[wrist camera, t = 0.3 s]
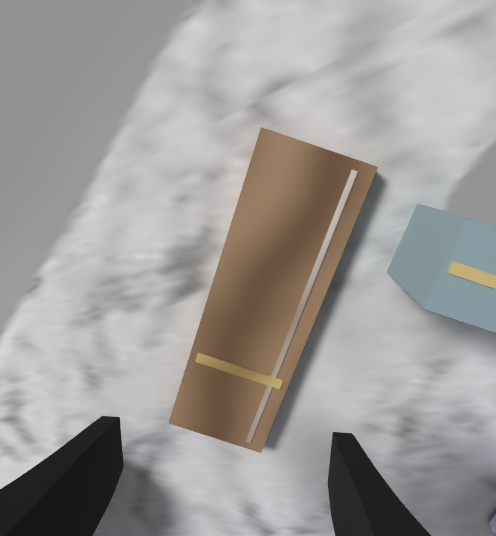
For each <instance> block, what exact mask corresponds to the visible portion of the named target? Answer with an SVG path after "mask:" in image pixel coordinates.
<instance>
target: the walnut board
mask: <svg viewBox="0 0 496 536" xmlns="http://www.w3.org/2000/svg"><path fill="white" fill-rule="evenodd" d="M377 168H378V167H376V166H373V165H371V164H368V163H365V162H362V161H359V160H356V159H353V158H350V157H347V156H344V155H341V154H338V153H335V152H332V151H329V150H326V149H323V148H321V147H318V146H315V145H312V144H309V143H306V142H303V141H300V140H297V139H294V138H291V137H288V136H285V135H282V134H279V133H276V132H273V131H271V130H268V129H265V128H262V127H261V130H260V133H259V136H258V139H257V143H256V146H255V149H254V152H253V155H252V159H251V162H250V165H249V168H248V171H247V174H246V178H245V181H244V184H243V187H242V190H241V194H240V197H239V200H238V203H237V206H236V210H235V213H234V216H233V219H232V222H231V226H230V229H229V232H228V235H227V238H226V242H225V245H224V248H223V251H222V254H221V257H220V261H219V264H218V267H217V270H216V273H215V277H214V280H213V283H212V286H211V289H210V293H209V296H208V299H207V302H206V305H205V309H204V312H203V315H202V318H201V321H200V325H199V328H198V331H197V334H196V337H195V341H194V344H193V347H192V350H191V353H190V356H189V360H188V363H187V366H186V369H185V372H184V376H183V379H182V382H181V385H180V388H179V392H178V395H177V398H176V401H175V404H174V408H173V411H172V414H171V417H170V420H169V423H170V424H173V425H176V426H179V427H182V428H185V429H189V430H192V431H195V432H198V433H201V434H204V435H207V436H210V437H213V438H217V439H220V440H223V441H226V442H229V443H232V444H235V445H238V446H241V447H245V448H248V449H251V450H254V451H257V452H260V453H261V451H262V449H263V446H264V444H265V441H266V439H267V436H268V434H269V432H270V429H271V427H272V424H273V422H274V419H275V417H276V415H277V412H278V410H279V407H280V405H281V402H282V400H283V397H284V395H285V393H286V390H287V388H288V385H289V383H290V380H291V378H292V375H293V373H294V371H295V368H296V366H297V363H298V361H299V358H300V356H301V354H302V351H303V349H304V346H305V344H306V341H307V339H308V336H309V334H310V332H311V329H312V327H313V324H314V322H315V319H316V317H317V315H318V312H319V310H320V307H321V305H322V302H323V300H324V297H325V295H326V293H327V290H328V288H329V285H330V283H331V280H332V278H333V276H334V273H335V271H336V268H337V266H338V263H339V261H340V258H341V256H342V254H343V251H344V249H345V246H346V244H347V241H348V239H349V236H350V234H351V232H352V229H353V227H354V224H355V222H356V219H357V217H358V215H359V212H360V210H361V207H362V205H363V202H364V200H365V197H366V195H367V193H368V190H369V188H370V185H371V183H372V180H373V178H374V176H375V173H376V171H377Z"/></svg>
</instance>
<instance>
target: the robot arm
mask: <svg viewBox="0 0 496 536" xmlns="http://www.w3.org/2000/svg"><path fill="white" fill-rule="evenodd" d="M122 469H123V454H122V442H121V430H120V417H109V416H102V417H100V418H99V419H98V420H96V421H95V422H93V423H92V424H91V425H90V426H88V427H87V428H86V429H84V430H83V431H82V432H81V433H79V434H78V435H77V436H75V437H74V438H73V439H72V440H70V441H69V442H68V443H66V444H65V445H64V446H62V447H61V448H60V449H58V450H57V451H56V452H54V453H53V454H52V455H50V456H49V457H48V458H46V459H45V460H43V461H42V462H40V463H39V464H38V465H36V466H35V467H33V468H32V469H30V470H29V471H28V472H26V473H25V474H23V475H22V476H20V477H19V478H17V479H16V480H14V481H13V482H11V483H10V484H8V485H6V486H5V487H3V488H2V489H0V536H93V534H94V532H95V530H96V528H97V526H98V524H99V522H100V520H101V518H102V516H103V514H104V512H105V510H106V508H107V506H108V504H109V502H110V500H111V498H112V496H113V493H114V491H115V488H116V486H117V483H118V480H119V478H120V475H121V472H122ZM328 488H329V498H330V508H331V516H332V521H333V526H334V531H335V536H431V535H430V534H429V533H428V532H427V531H426V530H425V529H424V528H423V526H422V525H421V524H420V523H419V522H418V521H417V520H416V519H415V517H414V516H413V515H412V514H411V513H410V512H409V510H408V509H407V508H406V507H405V506H404V504H403V503H402V502H401V501H400V500H399V498H398V497H397V496H396V495H395V493H394V492H393V491H392V490H391V488H390V487H389V486H388V484H387V483H386V482H385V480H384V479H383V478H382V476H381V475H380V474H379V472H378V471H377V469H376V468H375V467H374V465H373V464H372V462H371V461H370V459H369V458H368V456H367V455H366V453H365V452H364V450H363V449H362V447H361V446H360V444H359V443H358V441H357V440H356V438H355V436H354V435H353V434H352V433H339V432H333V436H332V446H331V457H330V467H329V477H328ZM489 527H490V529H491V530H492V532H493V533H495V534H496V514H495V515H494V517H493V518H492V520H491V521H490V523H489Z"/></svg>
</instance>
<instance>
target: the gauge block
mask: <svg viewBox="0 0 496 536" xmlns="http://www.w3.org/2000/svg"><path fill="white" fill-rule="evenodd" d="M387 273H388V274H389V275H390V276H391V277H392V278H393V279H394V280H395V281H396V282H397V283H398V284H399V285H400V286H401V287H402V288H403V289H404V290H405V291H406V292H407V293H408V294H409V295H410V296H411V297H412V298H413V299H414V300H415V301H416V302H417V303H418V304H419V305H420V306H421V307H422V308H423V309H425V310H428V311H431V312H434V313H437V314H440V315H444V316H447V317H450V318H453V319H456V320H459V321H462V322H465V323H468V324H471V325H474V326H477V327H480V328H483V329H486V330H489V331H492V332H495V333H496V227H493V226H490V225H487V224H484V223H481V222H478V221H475V220H472V219H469V218H466V217H462V216H459V215H455V214H452V213H449V212H445V211H442V210H438V209H435V208H431V207H428V206H424V205H421V204H417V206H416V208H415V210H414V213H413V215H412V217H411V219H410V221H409V224H408V226H407V228H406V230H405V233H404V235H403V237H402V239H401V241H400V244H399V246H398V248H397V250H396V252H395V255H394V257H393V259H392V261H391V263H390V266H389V268H388V270H387Z"/></svg>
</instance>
